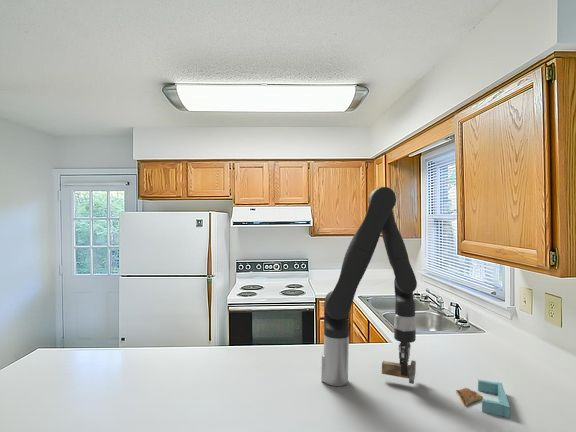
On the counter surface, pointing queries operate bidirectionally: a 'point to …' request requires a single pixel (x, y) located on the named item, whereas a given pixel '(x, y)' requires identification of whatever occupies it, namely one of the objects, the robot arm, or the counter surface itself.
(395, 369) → the hammer
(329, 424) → the counter surface
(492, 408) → the u-shaped bracket
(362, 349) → the counter surface
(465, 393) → the shard
